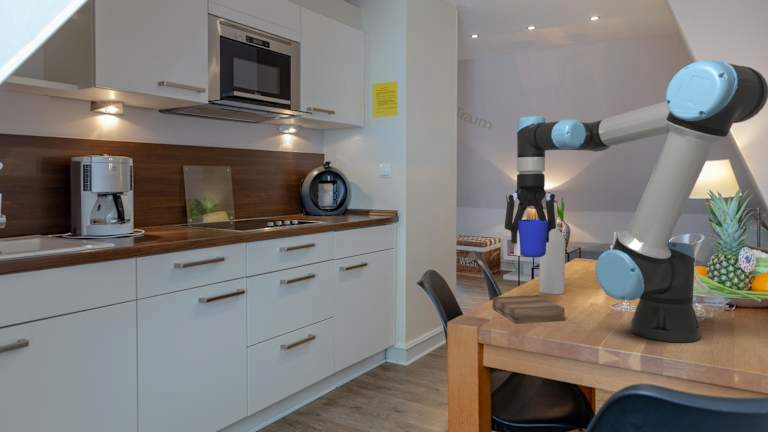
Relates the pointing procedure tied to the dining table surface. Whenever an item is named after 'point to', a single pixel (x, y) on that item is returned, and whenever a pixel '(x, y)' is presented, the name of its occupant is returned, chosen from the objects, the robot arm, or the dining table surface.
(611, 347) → the dining table surface
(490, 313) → the dining table surface
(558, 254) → the bottle
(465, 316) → the dining table surface
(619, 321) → the dining table surface
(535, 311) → the board
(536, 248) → the mug
